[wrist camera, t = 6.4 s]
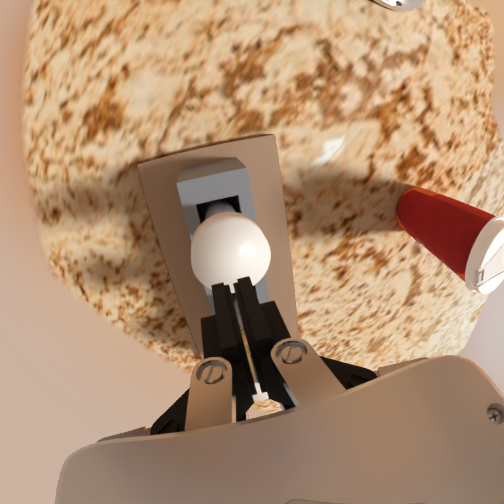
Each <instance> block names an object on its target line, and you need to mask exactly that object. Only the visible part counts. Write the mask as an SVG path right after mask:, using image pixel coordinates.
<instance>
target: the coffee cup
mask: <svg viewBox="0 0 504 504" xmlns="http://www.w3.org/2000/svg"><path fill="white" fill-rule="evenodd" d="M396 219H397V222H398V224H399V226H400V227H401V228H402V229H403V230H404V231H406V232H407V233H408V234H409V235H410V236H412V237H413V238H414V239H415V240H417V241H418V242H419V243H420V244H422V245H423V246H424V247H425V248H426V249H428V250H429V251H430V252H431V253H432V254H434V255H435V256H436V257H437V258H438V259H440V260H441V261H442V262H443V263H444V264H445V265H446V266H448V267H449V268H450V269H451V270H452V271H453V272H454V273H456V274H457V275H458V276H459V277H460V278H461V279H462V280H463V281H464V282H465V284H466V287H467V288H468V290H470V291H471V292H479V293H481V294H487V293H490V292H491V291H493V290H494V289H495V288H496V287H497V286H498V285H499V284H500V283H501V281H502V280H503V279H504V216H502V215H498V216H494V215H492V214H490V213H487V212H485V211H483V210H480V209H478V208H475V207H473V206H470V205H468V204H465V203H463V202H460V201H458V200H455V199H452V198H450V197H447V196H444V195H441V194H438V193H436V192H433V191H430V190H426V189H423V188H419V187H412V188H410V189H408V190H406V191H405V192H404V193H403V194H402V196H401V197H400V199H399V201H398V204H397V207H396Z"/></svg>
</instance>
